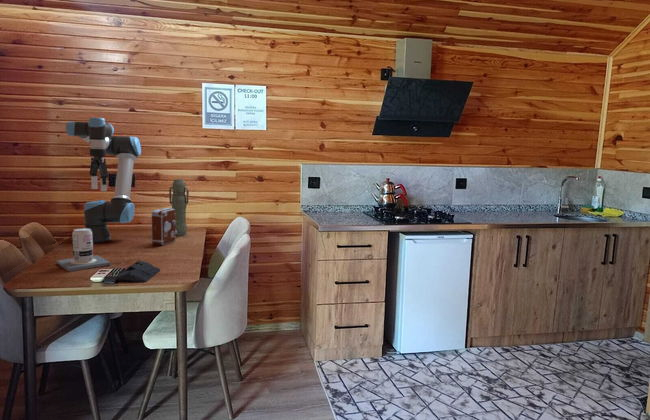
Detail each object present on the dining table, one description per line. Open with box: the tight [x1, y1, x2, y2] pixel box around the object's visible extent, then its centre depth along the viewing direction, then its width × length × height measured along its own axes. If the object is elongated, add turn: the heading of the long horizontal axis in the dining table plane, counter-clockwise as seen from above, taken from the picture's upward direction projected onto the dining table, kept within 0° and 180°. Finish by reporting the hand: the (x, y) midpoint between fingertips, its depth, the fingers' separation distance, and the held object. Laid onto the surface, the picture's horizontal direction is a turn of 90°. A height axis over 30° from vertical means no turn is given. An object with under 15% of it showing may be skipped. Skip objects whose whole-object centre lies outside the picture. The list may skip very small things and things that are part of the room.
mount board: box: [56, 254, 111, 272], centre depth 223 cm, size 18×18×2 cm
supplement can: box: [71, 227, 94, 263], centre depth 221 cm, size 8×8×15 cm
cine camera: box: [151, 207, 177, 246], centre depth 275 cm, size 9×19×20 cm, turn 166°
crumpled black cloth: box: [115, 260, 161, 283], centre depth 207 cm, size 15×22×5 cm
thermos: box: [168, 178, 190, 237], centre depth 297 cm, size 9×12×35 cm
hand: (99, 190), depth 244 cm, fingers open, 13 cm apart
